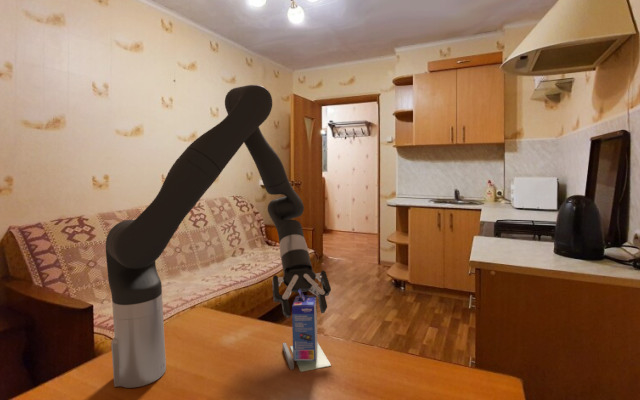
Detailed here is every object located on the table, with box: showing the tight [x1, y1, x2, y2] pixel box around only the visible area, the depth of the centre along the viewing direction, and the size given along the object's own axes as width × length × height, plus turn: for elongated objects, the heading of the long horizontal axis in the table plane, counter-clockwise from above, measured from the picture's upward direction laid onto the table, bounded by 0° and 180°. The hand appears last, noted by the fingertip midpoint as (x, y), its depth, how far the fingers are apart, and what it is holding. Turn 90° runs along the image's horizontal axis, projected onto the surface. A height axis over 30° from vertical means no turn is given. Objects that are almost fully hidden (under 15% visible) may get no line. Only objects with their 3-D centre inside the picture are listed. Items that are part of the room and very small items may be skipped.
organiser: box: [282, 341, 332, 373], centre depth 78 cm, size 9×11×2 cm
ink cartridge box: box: [291, 288, 319, 362], centre depth 79 cm, size 10×6×14 cm, turn 179°
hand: (306, 314), depth 80 cm, fingers open, 8 cm apart
